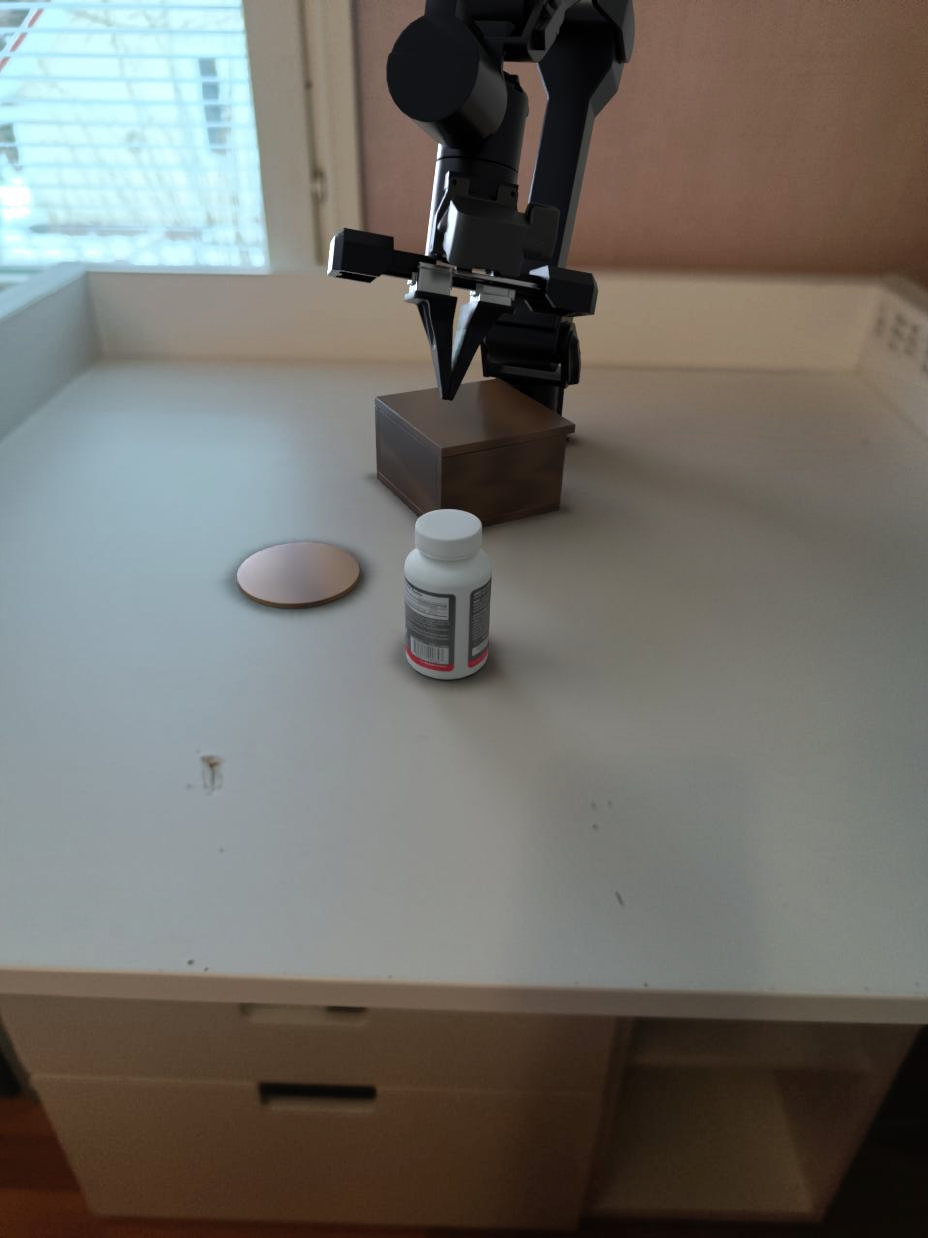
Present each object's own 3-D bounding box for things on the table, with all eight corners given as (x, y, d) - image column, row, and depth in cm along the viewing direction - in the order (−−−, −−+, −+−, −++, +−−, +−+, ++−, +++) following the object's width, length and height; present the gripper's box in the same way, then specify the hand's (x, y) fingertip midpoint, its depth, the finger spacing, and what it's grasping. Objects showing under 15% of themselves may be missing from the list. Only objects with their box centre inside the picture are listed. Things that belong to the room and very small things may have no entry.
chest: (486, 456, 85) (489, 387, 81) (559, 509, 76) (567, 434, 72) (376, 477, 80) (374, 405, 76) (440, 537, 71) (441, 458, 67)
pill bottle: (465, 626, 60) (470, 497, 55) (502, 669, 56) (511, 534, 51) (392, 645, 58) (389, 512, 53) (425, 691, 54) (425, 552, 49)
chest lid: (497, 386, 81) (497, 377, 81) (575, 433, 72) (576, 423, 72) (374, 405, 76) (374, 396, 76) (441, 458, 67) (441, 448, 67)
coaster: (333, 537, 70) (333, 532, 70) (379, 590, 64) (379, 585, 64) (222, 561, 67) (221, 557, 66) (259, 620, 60) (258, 615, 60)
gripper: (352, 109, 51) (325, 386, 55) (648, 174, 55) (603, 425, 59) (338, 151, 61) (316, 380, 65) (588, 202, 66) (553, 414, 70)
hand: (446, 399), depth 65 cm, fingers closed
